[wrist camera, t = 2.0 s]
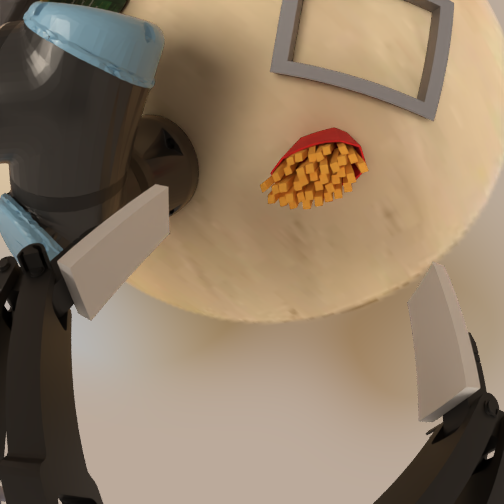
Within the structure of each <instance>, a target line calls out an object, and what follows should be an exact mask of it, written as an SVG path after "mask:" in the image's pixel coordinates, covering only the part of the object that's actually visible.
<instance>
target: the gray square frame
mask: <svg viewBox="0 0 504 504" xmlns="http://www.w3.org/2000/svg"><path fill="white" fill-rule="evenodd" d="M404 1H407V2H409V3H412V4H414V5H417V6H419V7H421V8H424V9H426V10H428V11H430V12H432V18H431V27H430V34H429V41H428V47H427V53H426V59H425V64H424V69H423V74H422V79H421V83H420V88H419V92H418V96H417V99H416V98H413V97H411V96H409V95H406V94H404V93H401V92H399V91H396V90H393V89H391V88H388V87H385V86H383V85H380V84H377V83H374V82H371V81H368V80H365V79H362V78H358V77H355V76H352V75H348V74H345V73H341V72H337V71H333V70H329V69H325V68H321V67H316V66H312V65H307V64H302V63H297V62H292V60H293V55H294V49H295V43H296V38H297V32H298V27H299V21H300V15H301V10H302V4H303V0H282V6H281V11H280V17H279V23H278V28H277V34H276V40H275V46H274V51H273V57H272V63H271V69H270V72H273V73H277V74H283V75H289V76H294V77H299V78H304V79H309V80H313V81H318V82H322V83H326V84H330V85H334V86H337V87H341V88H345V89H348V90H351V91H355V92H358V93H361V94H364V95H367V96H371V97H373V98H376V99H379V100H382V101H385V102H388V103H390V104H393V105H396V106H398V107H401V108H403V109H406V110H408V111H410V112H413V113H415V114H417V115H420V116H422V117H424V118H427V119H429V120H431V121H434V118H435V114H436V111H437V107H438V103H439V99H440V95H441V90H442V86H443V81H444V76H445V71H446V66H447V60H448V54H449V48H450V41H451V33H452V24H453V12H454V3H453V2H451V1H450V0H404Z"/></svg>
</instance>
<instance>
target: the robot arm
mask: <svg viewBox="0 0 504 504" xmlns="http://www.w3.org/2000/svg"><path fill="white" fill-rule="evenodd" d="M23 19H24V20H19V21H11V22H7V23H5V24H3V25H2V26H0V164H1V163H8V164H9V172H10V184H11V190H10V192H9V193H7V194H6V193H4V194H3V195H1V198H0V233H1V235H2V237H3V239H4V241H5V243H6V245H7V247H8V248H9V250H10V252H11V253H12V255H13V256H14V257H12V256H9V257H4V258H2V259H1V260H0V480H1V482H2V487H1V486H0V504H1V501H4V502H5V501H6V504H58V498H59V499H60V501H61V502H62V504H103V502H102V499H101V496H100V493H99V490H98V488H97V485H96V484H95V482H94V480H93V479H92V478H91V476H90V475H89V473H88V471H87V468H86V464H85V459H84V455H83V450H82V445H81V440H80V435H79V430H78V423H77V416H76V409H75V401H74V390H73V378H72V359H71V318H72V314H71V310H70V308H71V306H72V305H73V304H74V305H75V307H76V309H77V311H78V313H79V314H80V315H82V316H84V317H85V318H88V319H89V320H92V319H93V318H94V317H95V316H96V314H97V313H98V312H99V311H100V310H101V308H102V307H103V306H104V305H105V304H106V303H107V301H108V300H109V299H110V298H111V297H112V295H113V294H114V293H115V292H116V291H117V290H118V289H119V288H120V286H121V285H122V284H123V283H124V282H125V281H126V280H127V279H128V277H129V276H130V275H131V274H132V273H133V272H134V271H135V270H136V269H137V268H138V266H139V265H140V264H141V263H142V262H143V261H144V260H145V259H146V258H147V257H148V256H149V255H150V254H151V252H152V251H153V250H154V249H155V248H156V247H157V246H158V245H159V244H160V243H161V242H162V241H163V240H164V239H165V238H166V237H167V236H168V235H169V234H170V230H169V217H170V216H172V215H173V214H175V213H177V212H178V211H179V210H180V209H181V208H182V207H183V206H185V205H186V204H187V203H188V202H189V200H190V199H191V198H192V196H193V194H194V192H195V189H196V186H197V182H198V162H197V157H196V154H195V151H194V148H193V146H192V144H191V142H190V140H189V139H188V137H187V136H186V134H185V133H184V132H183V131H182V130H181V129H180V128H179V127H178V126H177V125H176V124H174V123H173V122H171V121H170V120H168V119H166V118H163V117H160V116H156V115H145V116H142V112H143V109H144V106H145V103H146V100H147V96H148V93H149V90H150V88H152V87H153V86H154V84H155V79H154V76H155V73H156V70H157V66H158V63H159V60H160V57H161V54H162V51H163V48H164V40H165V39H164V35H163V32H162V31H161V29H160V28H159V27H158V26H157V25H155V24H153V23H151V22H148V21H145V20H142V19H139V18H136V17H132V16H128V15H125V14H121V13H117V12H113V11H108V10H104V9H99V8H94V7H88V6H82V5H75V4H67V3H56V2H42V1H37V2H35V3H33V4H32V5H31V6H30V7H29V9H28V11H27V12H26V13H25V14H24V17H23ZM16 260H17V261H16ZM17 262H18V263H19V264H20V266H21V267H19V266H18V263H17ZM6 300H7V301H8V303H9V305H10V306H11V307H10V309H9V310H8V311H7V309H6V308H5V306H4V305H5V302H6ZM407 303H408V309H409V314H410V321H411V327H412V334H413V341H414V350H415V359H416V371H417V385H418V408H419V409H418V411H419V421H422V422H423V421H424V422H433V421H435V420H437V419H438V418H440V417H441V416H443V422H442V423H441V424H439V425H438V426H436V427H434V428H433V429H431V430H429V431H428V432H427V433H426V435H428V434H430V433H432V432H433V434H432V435H431V436H430V438H429V440H428V441H427V442H426V444H425V445H424V446H423V448H422V449H421V451H420V452H419V453H418V454H417V456H416V457H415V458H414V460H413V461H412V462H411V463H410V465H409V466H408V467H407V468H406V469H405V470H404V472H403V473H402V474H401V475H400V476H399V477H398V478H397V480H396V481H395V482H394V483H393V484H392V485H391V486H390V487H389V488H388V489H387V490H386V491H385V492H384V493H383V494H382V495H381V496H380V498H378V500H376V501H375V502H374V503H373V504H504V412H503V411H501V410H499V405H498V402H497V400H496V398H495V397H494V396H493V395H492V394H490V393H487V392H486V386H485V381H484V376H483V371H482V366H481V363H480V358H479V355H478V350H477V346H476V342H475V341H474V339H473V337H472V335H471V333H469V332H468V331H467V328H466V324H465V321H464V318H463V314H462V312H461V308H460V305H459V302H458V300H457V297H456V294H455V291H454V289H453V286H452V283H451V281H450V278H449V276H448V273H447V271H446V268H445V266H443V265H440V264H438V263H435V262H432V264H431V266H430V267H429V269H428V271H427V272H426V274H425V276H424V277H423V279H422V281H421V282H420V284H419V285H418V287H417V289H416V290H415V292H414V293H413V295H412V296H411V298H410V299H409V301H408V302H407ZM6 432H7V444H8V453H7V456H5V457H4V450H5V438H6ZM494 450H495V453H494V456H493V457H492V458H490V459H487V455H488V453H490V452H492V451H494Z"/></svg>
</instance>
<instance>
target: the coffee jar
mask: <svg viewBox="0 0 504 504" xmlns="http://www.w3.org/2000/svg"><path fill="white" fill-rule="evenodd" d="M37 1H42V2H56V3H67V4H75V5H82V6H88V7H94V8H99V9H104V10H108V11H113V12H117V13H119V12H120V11H121V9H122V8H123V7H124V5H125V3H126V1H127V0H0V26H2V25H3V24H5V23H7V22H11V21H19V20H24V19H23V17H24V14H25V13H26V12H27V11H28V9H29V7H30V6H31V5H32V4H33V3H35V2H37Z"/></svg>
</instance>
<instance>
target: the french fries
mask: <svg viewBox="0 0 504 504" xmlns="http://www.w3.org/2000/svg"><path fill="white" fill-rule="evenodd" d="M367 171H368V168H367V165H366V162H365V158H364V155H363V152H362V149H361V146H360V145H359V144H358V143H357V142H356V141H355V140H354V139H353V138H352V137H351V136H350V135H349V134H348V133H347V132H345V131H342V130H340V129H337V128H330V129H326V130H322V131H319V132H316V133H313V134H310V135H307V136H304V137H302V138H300V139H299V140H298V141H297V142H296V143H295V144H294V145H293V146H292V148H291V149H290V150H289V151H288V152H287V153H286V154H285V155H284V156H283V157H282V158H281V159H280V161H279V162H278V163H277V165H276V166H275V168H274V169H273V170H272V172H271V175H272V176H271V177H270V178H268V179H267V180H266V181H265V182H263V183H262V184H261V185H260V186H261V189H262V192H264V191H266V190H267V189H268V188H269V187H270V186H271V185H272V184H274V183H275V184H274V185H273V186H272V191H271V192H270V193H269V194H268V204H272V203H275V202H276V201H277V200H278V198H279V202H280V206H281V207H282V206H285V205H287V204H288V203H289V206H290V209H293V208H297V206H298V204H299V202H303V209H311V205H312V202H313V200H315V206H323V202H324V198H325V202H330V201H333V192H334V196H335V199H337V198H342V185H343V186H344V192H351V191H352V186H351V183H354V182H356V179H357V178H358V177H359V176H360V175H361V174H362V173H364V172H367Z"/></svg>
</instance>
